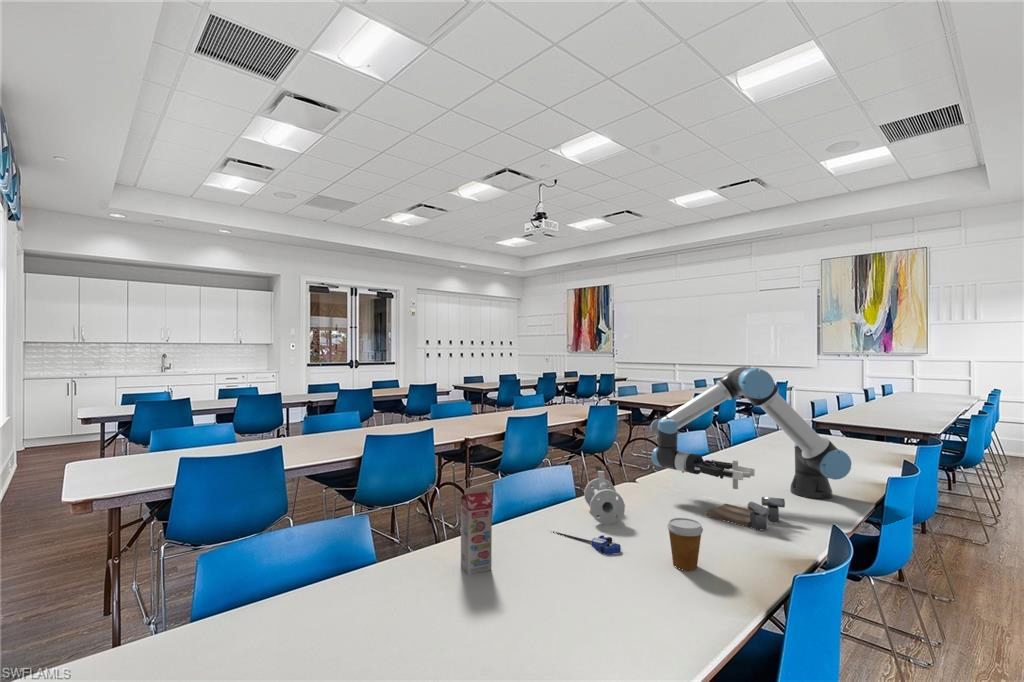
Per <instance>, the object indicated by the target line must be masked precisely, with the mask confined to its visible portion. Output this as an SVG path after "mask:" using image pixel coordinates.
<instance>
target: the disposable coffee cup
mask: <svg viewBox="0 0 1024 682" xmlns="http://www.w3.org/2000/svg"><path fill="white" fill-rule="evenodd" d="M666 527H667V530H668V534H669V541H670V550H671V557H672V558H671V559H672V566H673V567H674V566H676V567H677V568H676V567H675V568H676V569H678V568H680V569H683V570H682V571H684V570H693V571H695V570H694V569H696V568H698V562H699V553H700V548H701V547H700V546H701V538H702V534H703V532H704V528H703V526H702V523H701V522H699V521H698V520H696V519H692V518H687V517H673V518H670V519H669V520H668V523H667V524H666ZM680 569H679V570H680ZM696 570H697V569H696Z"/></svg>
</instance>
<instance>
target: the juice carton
mask: <svg viewBox="0 0 1024 682" xmlns="http://www.w3.org/2000/svg"><path fill="white" fill-rule="evenodd" d="M492 501H493V500H492V499H491V497H490V495H489V493H488V486H487V485H485V486H476V487H467V488H464V494H463V495H461V497H460V565H461V567H462V568H463V570H464V571H465V572H466V573H467V575H472V574H473V575H474V574H477V573H483V571H484V572H489V571H492V541H493V540H492V528H493V527H492V523H493V522H492V521H493V519H492V516H493V515H492V510H493V509H492V508H493V507H492V506H493V504H492V503H493V502H492ZM488 570H489V571H488Z"/></svg>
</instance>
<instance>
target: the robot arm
mask: <svg viewBox="0 0 1024 682" xmlns="http://www.w3.org/2000/svg"><path fill="white" fill-rule="evenodd" d="M779 389H780V388H779V387H778V386H777V385H776V383H775V381H774V377H773V376H772V375H771V374H770V373H769V372H768V371H766V370H764V369H762V368H759V367H747V366H746V367H744V366H742V367H738V368H736V369H733V370H732V371H730V372H729V373H727V374H725V375H724V376H722V377H721V378H720V379H718V380H716V382H715V384H714V385H713V386H711V387H709V388H708V389H706V390H704V391H703V392H701V393H700V394H698V395H696V396H695V397H693V398H692V399H690V400H689V401H687V402H685V403H683V404H682V405H681V406H678V407H677V408H675V409H674V410H672V411H671V412H669V413H668V414H666V415H664V416H662V417H661V418H657V419H654V420H652V422H651V424H650V431H651V434H653V436H655V437H656V438H657V444H658V445H657V447H655V448H654V449H652V454H651V462H652V464H654V465H655V466H657V467H660V468H663V469H668V470H676V471H681V473H682V474H684V473H689V474H694V475H699V474H705V475H709V476H712V477H715V478H719V479H724V478H728V479H732V480H733V479H738V481H743V480H744V477H743V472H748V473H750V475H751V476H750V477H755V474H756V473H755V471H756V470H755V468H754V467H748V466H744V465H743V466H742V465H738V471H734V470H729V469H733V462H726V461H725V462H724V461H718V460H714V459H711V460H710V459H705V460H704V459H703V457H702V455H700V454H697V453H696V454H695V453H690V452H687V451H679V450H678V433H679V432H678V431H679V429H681V428H683V427H684V426H686V425H688V424H689V423H691V422H693V421H694V420H695V419H697V418H699V417H700V416H702V415H703V414H705V413H707V412H709V411H710V410H712V409H713V408H716V407H717V406H719V405H720V404H721V403H724V402H725V401H726V400H728V401H732V400H733V399H735V398H737V397H740V396H743V397H745V399H747V400H748V401H749V402H750V403H751V405H753V406H754V407H757V408H761V409H762V410H763V412H765V414H767V415H768V417H770V418H771V420H772V421H773V422H774V423H775V424H776V425H777V426H778V427H779V428H780V429H781V430H782V431H783V432H784V433H785V434H786V435H787V436H788V437H789V438H790V439H791V440H792V441H793V442H794V476H793V478H792V481H791V483H790V493H792V494H793V493H795V494H794V495H796V494H797V496H799V495H801V496H800V497H803V496H805V497H804V498H808V497H810V498H809V499H816V498H819V499H820V500H824V499H825V498H826V500H827V499H832V498H833V489H832V487H831V485H830V481H829V479H830V480H837V481H838V480H841V479H843V478H845V477H847V475H849V473H850V472H851V470H852V465H853V464H852V459H851V457H850V456H849V454H847V452H845V451H843V450H842V449H839V448H838V447H836V445H835V444H833V442H831V441H830V440H829V438H827V437H824V436H820V435H819V433H817V431H815V430H814V428H813V427H811V425H810V424H809V423H807V421H806V420H804V418H803V417H802V416H801V415H800V414H799V413H798V412H797V411H796V410H795V409H794V408H793V407H792V406H791V405H790V404H789V403H788V402H787V400H786V399H784V398H783V396H781V395H780V394H779ZM723 476H724V477H723ZM819 499H818V500H819Z"/></svg>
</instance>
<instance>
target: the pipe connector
mask: <svg viewBox="0 0 1024 682" xmlns="http://www.w3.org/2000/svg"><path fill="white" fill-rule="evenodd" d="M732 463H733V469H729V470H734V471H738V466H739V461H738V460H735V459H733V460H732ZM751 477H752V476H751V475H750V473H748V472H743V478H746V479H747V478H749V479H750V478H751ZM723 478H725V477H724V476H723ZM732 489H734V490H738V489H739V480H738V479H733V478H732Z"/></svg>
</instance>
